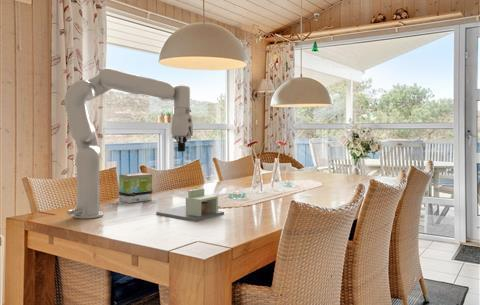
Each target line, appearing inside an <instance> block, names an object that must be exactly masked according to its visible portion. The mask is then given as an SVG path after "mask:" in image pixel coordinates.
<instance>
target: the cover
mask: <svg viewBox="0 0 480 305" xmlns="http://www.w3.org/2000/svg"><path fill="white" fill-rule="evenodd" d="M202 201H203V202H210V211H211V212H218V211H219V208H218V207H219V196H218V195H214V194H206V193H205V188H203V187H202V188H196V189H189V190H188V191H187V197H185V206H186V214H187V215H193V216H199V217H200V216H201V202H202Z"/></svg>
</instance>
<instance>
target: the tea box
mask: <svg viewBox="0 0 480 305" xmlns="http://www.w3.org/2000/svg"><path fill="white" fill-rule="evenodd" d="M118 179H119V181H118V202H122V203H127V204H131V203H136V202H137V203H139V202H146V201H152V197H153V196H152V195H153V194H152V193H153V174H152V173H147V172H146V173H145V172H134V173H123V174H121V173H120V174H119V178H118Z"/></svg>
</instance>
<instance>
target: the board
mask: <svg viewBox="0 0 480 305" xmlns="http://www.w3.org/2000/svg"><path fill="white" fill-rule="evenodd" d="M155 214H156V215H157V216H162V217H168V218H173V219H179V220H185V221H191V222H196V223H197V222H200V221H201V222H202V221H204V220H208V219H212V218H215V217H220V216H223V215H225V211H221V210H218V212H211V211H210V213H209V214H205V215H201V216H200V217H199V216H193V215H187V214H186V205H183V206H178V207H174V208H169V209H168V208H167V209H164V210H159V211H156V213H155Z"/></svg>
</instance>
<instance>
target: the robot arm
mask: <svg viewBox="0 0 480 305" xmlns="http://www.w3.org/2000/svg"><path fill="white" fill-rule="evenodd" d="M110 90H117V91H120V92H125V93H128V94H132V95H146V96H150V97H153V98H154V97H155V98H158V99H159V100H160V101H163V102H168V101H173V114H172V118H171V126H170V129H171V130H170V133H171V137H172V139H174V140H175V141H176V143H177V152H179V153H180V152H181V153H182V152H185V151H186V143H187V141H188V140H190V139H192V136H193V134H194V126H193V117H192V115H191V113H192V110H191V88H190V86H189V85H185V84H182V85H181V84H176V85H172V84H171V83H169V82H165V81H163V80H158V79H155V78H150V77H146V76H141V75H137V74H134V73H133V74H132V73H128V72H125V71H121V70H118V69H114V68H110V67H104V68H102V69H100V70H99V73H98V74H97V75H95V76H94V77H92V78H90V79H88V80H86V79H80V80H76V81H74V82H73V83H72V84H71V85H70V86H69V87H68V88H67V90H66V92H65V95H64V108H65V112H66V117H67V122H68V124H69V125H68V126H69V130H70V134H71V137H72V138H73V140H74V141H75V144H76V149H77V152H76V155H75V165H76V167H75V168H76V206H74V208H73V209H68V210H66V214H67V215H68V216H70V215H72V217H73V218H75V219H80V220H81V219H82V220H83V219H96V218H100V217H103V216H104V212H103V211H101V204H100V203H101V196H100V194H101V192H100V190H101V182H100V181H101V180H100V179H101V177H100V176H101V175H100V173H101V172H100V171H101V170H100V160H101V157H102V156H101V155H102V154H101V148H100V145H99V141H98V136H97V132H96V130H95V127H94V126H93V124H92V123H91V121H90V119H89V117H90V116H89V114H88V113H89V112H88V110H87V106H86V103H87V102H88V101H92V100H94V99H96V98H98V97H99V96H101V95H103V94H105V93H107V92H108V91H110Z"/></svg>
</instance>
